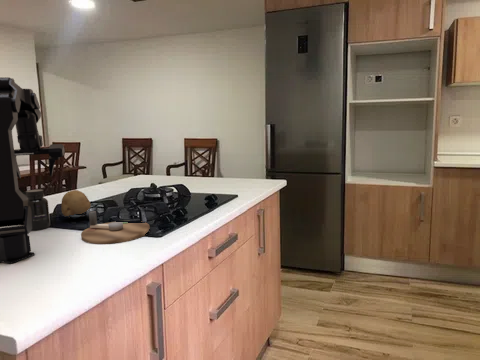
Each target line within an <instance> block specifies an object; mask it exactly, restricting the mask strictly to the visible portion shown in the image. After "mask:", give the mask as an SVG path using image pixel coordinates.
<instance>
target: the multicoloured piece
mask: <svg viewBox="0 0 480 360" xmlns="http://www.w3.org/2000/svg"><path fill="white" fill-rule="evenodd" d="M88 217H89V218H88V219H89V228H109V230H120V229H123V222H116V221H111V222H112V223H109V222H108V223H109V224H104V223H98V217H97V211H96V210H95V211H94V210H93V211H88Z"/></svg>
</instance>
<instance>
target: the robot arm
mask: <svg viewBox="0 0 480 360" xmlns="http://www.w3.org/2000/svg"><path fill="white" fill-rule="evenodd" d="M40 109H41V105H40V103H39V100H38V97H37V94H36V93H35V92H34V90H33V89H32V88H22V87H21V86H20V85H18V83H16V82H15V80H14V78H11V77H8V76H7V77H3V76H2V77H0V263H7V264H14V263H17V262H19V261H22V260H25V259H26V258H29V257H33V256H35V252H34V251H32V246H31V241H30V235H29V234H30V233H31V232H32V231H33V230H32V213H31V207H30V206H28V201H27V196H26V193H23V192H22V191H21V190H20V189H19V181H18V179H21V178H22V177H21V172H20V169H19V165H18V162H17V156H18V157H19V156H35V155H37V156H38V155H48V170H49V177H53V173H54V167H55V163H56V161H59V160H60V158H62V157H64V155H65V146H64V145H63V144H62V143H57V144H55V143H53V144H50V145H49V146H48V147H43V146H44V143H43V141H44V140H43V135H40V133H39V129H38V123H39V121H40V120H41V117H42V112H41V110H40ZM14 127H15V129H16V133H17V134H16V135H17V136H16V137H17V143H18V144H19V148H18V149H15V147H14V138H13V130H14Z"/></svg>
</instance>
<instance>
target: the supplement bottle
mask: <svg viewBox="0 0 480 360" xmlns="http://www.w3.org/2000/svg"><path fill="white" fill-rule="evenodd" d="M25 195H26V196H27V201H28V206H30V207H31V213H32V230H31V231H40V230H41V231H42V230H45V229H48V228H50V227H51V219H50V218H51V217H50V209H49V201H48V199H47V198H46V197H45V194H44V189H30V190H26V191H25Z"/></svg>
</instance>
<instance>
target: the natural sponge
mask: <svg viewBox="0 0 480 360" xmlns="http://www.w3.org/2000/svg"><path fill="white" fill-rule="evenodd" d="M91 206H92V205H91V201H90V200H89V198H88V196H87V195H86V194H85V193H84V192H82V191H80V190H77V189H72V190H69V191H68V192H66V193H65V194H64V195H63V196H62V198H61V213H62V215H63V216H64V217H66V216H69V215H74V214H82V213H84V212H86V211H87V210H88V209H89V208H90V209H91ZM90 209H89V210H90ZM89 210H88V211H89ZM88 211H87V212H88ZM87 212H86V213H87ZM84 214H85V213H84Z"/></svg>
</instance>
